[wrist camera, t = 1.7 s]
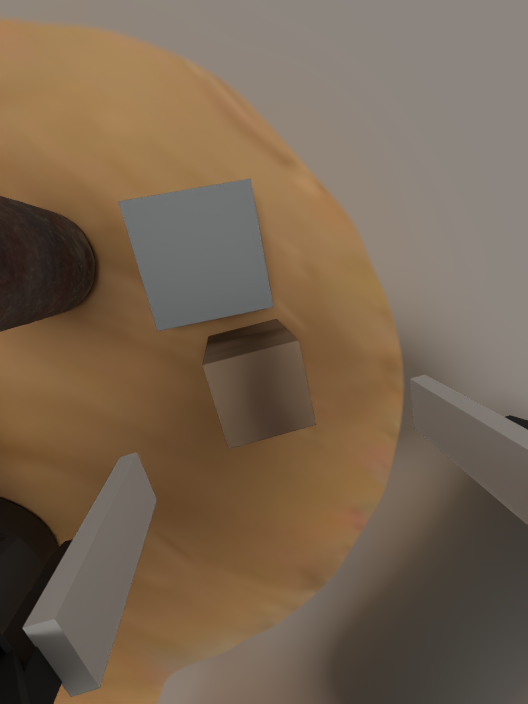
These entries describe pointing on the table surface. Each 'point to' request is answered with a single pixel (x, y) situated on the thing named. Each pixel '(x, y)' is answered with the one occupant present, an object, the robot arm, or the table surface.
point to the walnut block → (258, 382)
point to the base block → (199, 253)
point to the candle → (40, 264)
